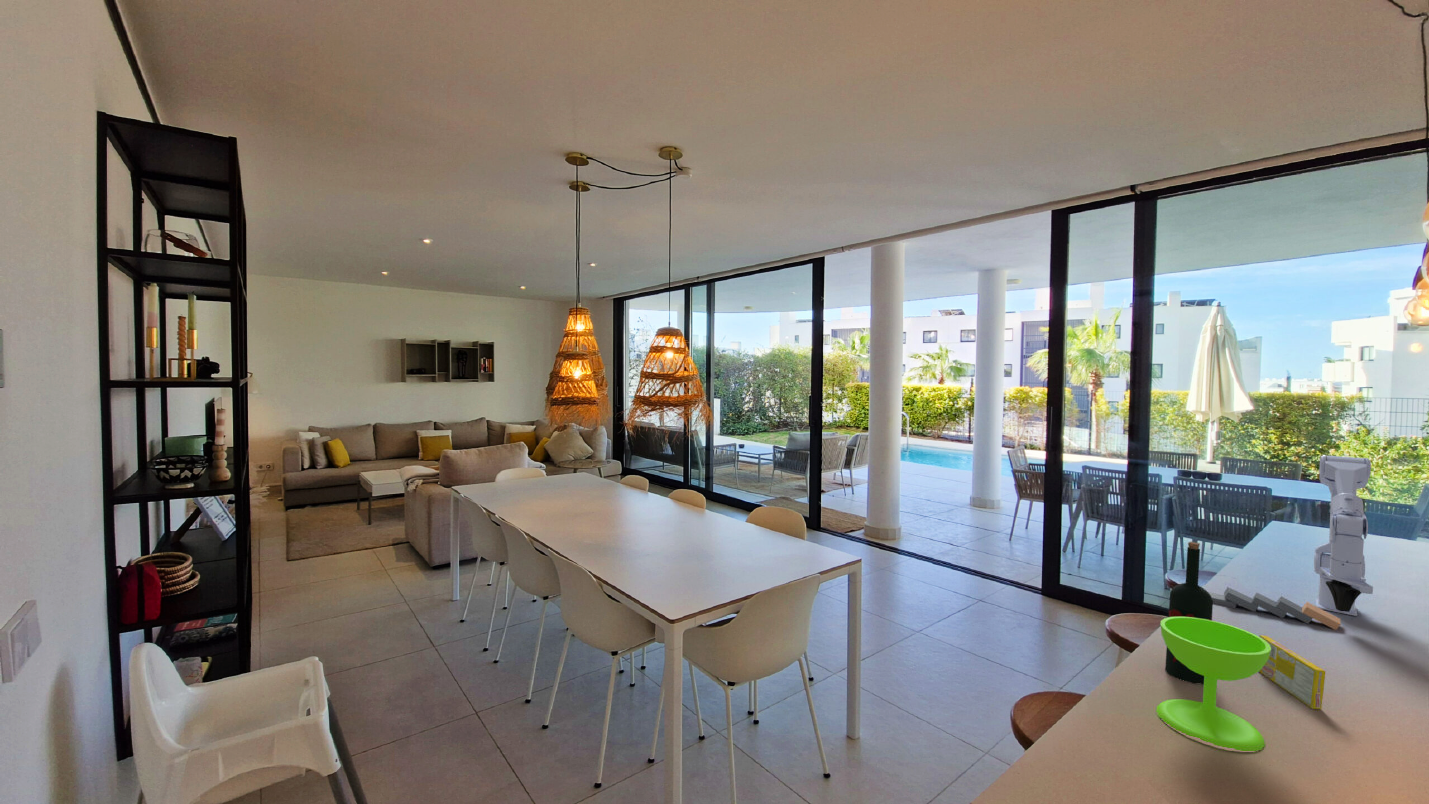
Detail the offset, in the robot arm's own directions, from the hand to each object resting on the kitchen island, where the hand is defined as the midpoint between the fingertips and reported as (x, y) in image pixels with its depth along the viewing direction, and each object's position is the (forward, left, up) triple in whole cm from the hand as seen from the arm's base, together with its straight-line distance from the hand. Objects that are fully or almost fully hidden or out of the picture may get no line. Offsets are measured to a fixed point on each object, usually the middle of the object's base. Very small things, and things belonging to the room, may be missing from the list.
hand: (1342, 610), depth 155 cm
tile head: (0, -1, -4) cm, 4 cm away
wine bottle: (+62, -25, -5) cm, 67 cm away
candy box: (+52, -9, -5) cm, 53 cm away
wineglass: (+82, -19, -5) cm, 84 cm away
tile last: (0, -21, -4) cm, 21 cm away
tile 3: (0, -11, -4) cm, 11 cm away
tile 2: (0, -6, -4) cm, 7 cm away
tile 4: (0, -17, -4) cm, 17 cm away
